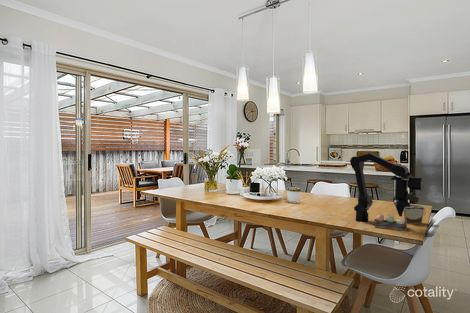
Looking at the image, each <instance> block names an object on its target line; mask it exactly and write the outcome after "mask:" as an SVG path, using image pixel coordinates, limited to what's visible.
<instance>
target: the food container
mask: <svg viewBox="0 0 470 313" xmlns="http://www.w3.org/2000/svg"><path fill="white" fill-rule="evenodd" d="M424 211H425V207H424V206H423V205H419V204H418V205H417V204H410V207H405V208H404V211H403V216H404V218H403V220H404V222H405V223H408V224H423V216H424Z"/></svg>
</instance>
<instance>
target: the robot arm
mask: <svg viewBox="0 0 470 313" xmlns="http://www.w3.org/2000/svg"><path fill="white" fill-rule="evenodd" d="M369 161H370V162H372V163H375V164H377V165H379V166H382V167H383V168H386V169H387V170H389V172H390V173H391V174H394V175H393V177H391V178H390V180H393V181H394V195H393V196H392V201H393V204H394V206H395V210H396V212H397V214H398V217H400V218H402V216H403V215H404V208H405V207H410V205H411V203H410V202H409V201H411V202H413V203H415V204H418V202H419V200H420V197H419V196H417V195H416V193H415V192H410V193H409V191H408V189H409V190H414V191H424V189H425V188H424V187H425V182H424V179H423V178H424V177H414V176H413V175H412V173H410V171H409V170H410V169H409V167H408V166H407V165H403V164H400V163H395V162H392V161H389V160H387V159H385V158H383V157H381V156H378V155H376V154H374V153H372V152H369V153H366V154H363V155H359V156H352V157H351V158H350V159H349V163H350V165H351V168H352V170H353V171H354V174H355V180H356V185H357V189H358V190H357V192H358V197H357V204H356V205H355V206H354V207H353V210H354V212H355V221H356V222H365V223H368V221H369V212H368V211H369V209H370V208H371V207H372V206H373V203H374V201H373V197H372V195H369V193H368V191H367V190H368V189H367V186H366V185H367V184H366V180H365V174H364V173H365V172H364V167H365V163H366V162H369Z"/></svg>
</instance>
